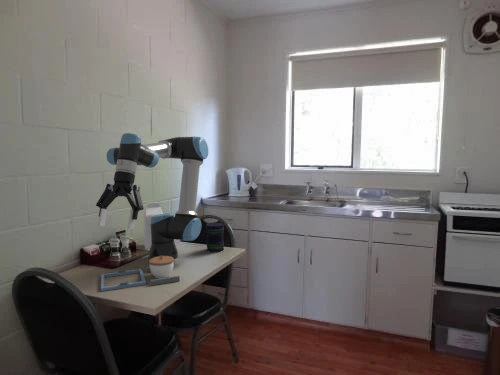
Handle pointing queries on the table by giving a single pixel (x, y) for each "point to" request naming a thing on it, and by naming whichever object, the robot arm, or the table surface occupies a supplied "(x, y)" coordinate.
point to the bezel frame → (122, 284)
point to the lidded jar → (161, 266)
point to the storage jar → (215, 237)
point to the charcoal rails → (163, 279)
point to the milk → (149, 212)
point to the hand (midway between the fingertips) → (115, 227)
